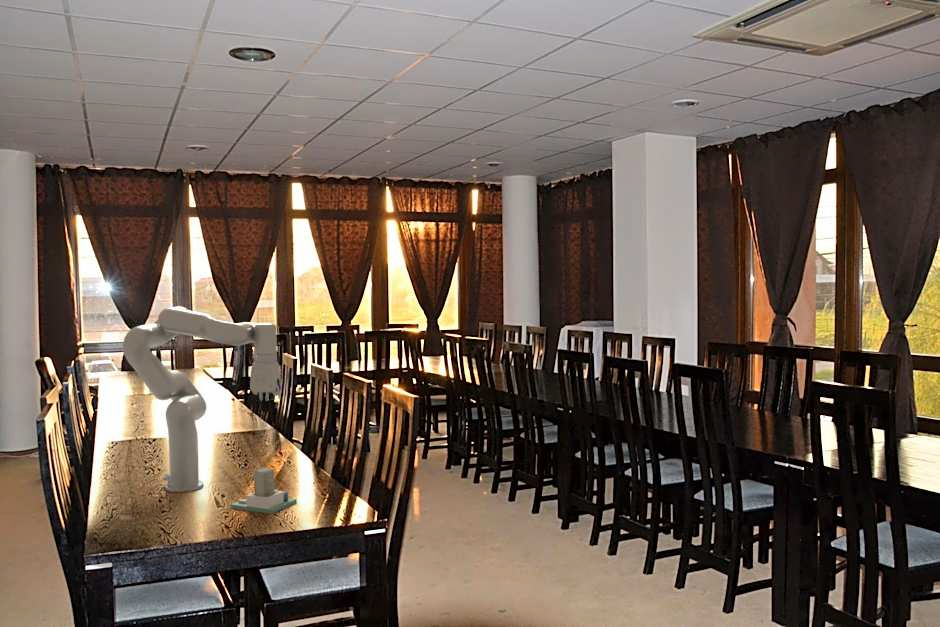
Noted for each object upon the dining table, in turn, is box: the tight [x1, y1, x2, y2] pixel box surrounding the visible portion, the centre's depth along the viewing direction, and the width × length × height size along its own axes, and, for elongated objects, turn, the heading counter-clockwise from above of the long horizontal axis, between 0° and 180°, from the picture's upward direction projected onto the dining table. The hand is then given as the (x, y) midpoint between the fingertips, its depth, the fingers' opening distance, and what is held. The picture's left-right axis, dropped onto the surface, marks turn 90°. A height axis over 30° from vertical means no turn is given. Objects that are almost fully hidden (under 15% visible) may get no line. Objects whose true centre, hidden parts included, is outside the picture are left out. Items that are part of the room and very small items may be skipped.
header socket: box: [246, 489, 285, 509], centre depth 260 cm, size 8×9×4 cm
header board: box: [230, 491, 297, 515], centre depth 262 cm, size 16×13×4 cm
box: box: [253, 467, 276, 497], centre depth 259 cm, size 5×4×11 cm
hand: (266, 411), depth 280 cm, fingers closed
